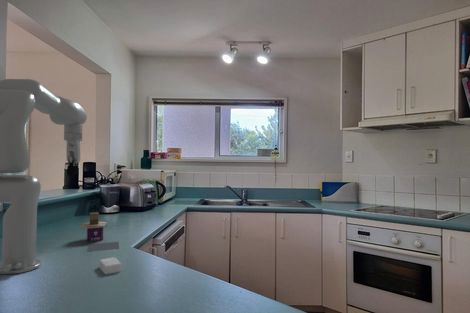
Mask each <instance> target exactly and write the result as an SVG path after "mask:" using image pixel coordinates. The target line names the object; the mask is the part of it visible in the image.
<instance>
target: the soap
mask: <svg viewBox="0 0 470 313" xmlns="http://www.w3.org/2000/svg"><path fill="white" fill-rule="evenodd" d="M98 263H99V264H98V266H99V268H100V270H101V271H102V273H103V274H104V275H111V274H116V273H121V272H122V267H123V265H122V263H121V261H119V260H118V259H117V258H116V257H109V258H103V259H102V258H101V259H99V261H98Z"/></svg>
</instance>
